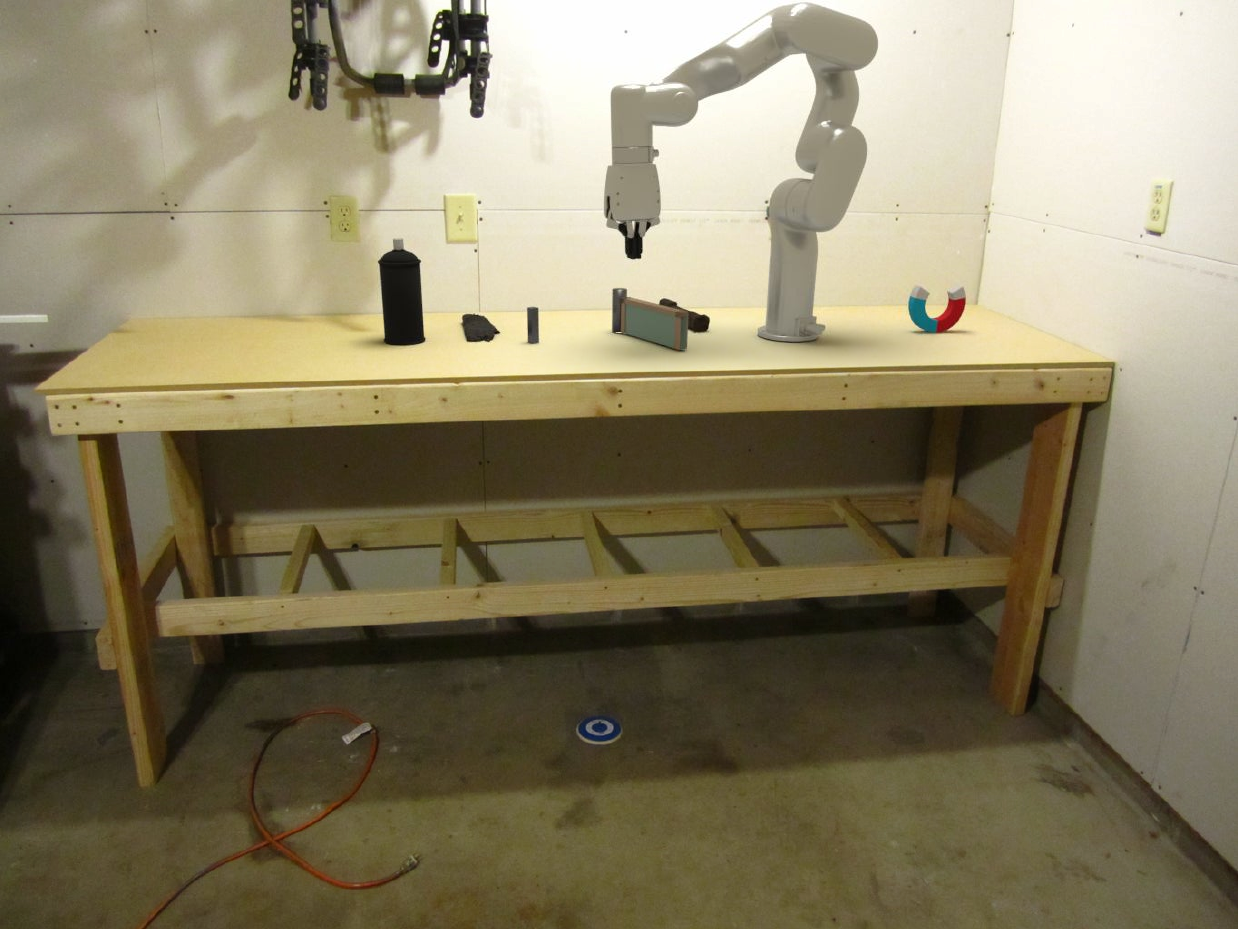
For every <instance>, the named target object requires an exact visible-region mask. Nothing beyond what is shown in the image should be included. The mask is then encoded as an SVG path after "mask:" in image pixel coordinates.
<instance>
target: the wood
mask: <svg viewBox="0 0 1238 929" xmlns="http://www.w3.org/2000/svg"><path fill="white" fill-rule="evenodd" d="M461 321H462V325H463V329H464V334H465V336H466V342H467V343H481V342H483V341H484V342H487V343H489V342H490V341H492V340H493V339H494V337H495V334H496V335H499V334H501V332H500V330H498V329H497V327H496V326H495V325H494V324H492V322H490V320H489V319H488V318H487V317H485V315H480V314H478V313H477V314H476V313H465V314H462V316H461Z"/></svg>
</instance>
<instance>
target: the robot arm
mask: <svg viewBox="0 0 1238 929" xmlns="http://www.w3.org/2000/svg"><path fill="white" fill-rule="evenodd" d="M878 39H879V38H878V35H877V32H876V30H875V28H874V27H873V26H872V25H871V24H870V23H869V22H867V21H866V20H863V19H861V18H858V17H856V16H853V15H849V14H846V13H843V12H840V11H837V10H834V9H831V8H828V7H825V6H822V5H819V4H816V3H812V2H807V1H804V2H802V1H801V2H796V3H792V4H786V5H780V6H778V7H775V8H773V9H771V10H769V11H768V12H766V13H765V14H763V15H762V16H760V17H758V18H757V19H755V20H754V21H751V23H749V24H748V25H746V26H745V27H743V28H742V29H740V30H739V31H737V32H736V33H734V34H732V35H731V36H729V37H728V38H726V39H725V40H723V41H721V42H720V43H718V44H716V45H714V46H712V47H710V48H708V49H707V50H705V51H703V52H701V53H699V55H697V56H695V57H693V58H691V59H689V60H687V61H685V62H683V63H681V64H680V65H678V66H676V67H675V68H673V69H671V70H670V71H668V72H667V73H665V74H663V75H662V76H660V77H659V78H657V79H656V80H654V81H653V82H651V83H650V84H648V85H646V84H637V83H636V84H619V85H616V86H614V87H613V88H612V89H611V91H610V125H611V126H610V131H611V133H610V134H611V135H610V136H611V165H610V164H609V165H607V168H606V174H605V182H604V194H603V215H604V217H605V219H606V224H605V225H606V227H607V228H609V229H614V230H617V231H618V232H619V233H621V235H622V237H624V253H625V255H626V258H627V259H630V260H633V261H634V260H641V259H642V254H643V252H644V251H643V249H644V248H643V246H644V245H643V244H644V240H643V238H645V236H646V233H647V232H648V231H649V229H650V228H651V227H655V226H657V225H659V224H660V223H661V219H660V216H661V208H662V207H661V206H662V204H661V201H662V199H661V186H660V180H659V173H658V169H657V165H656V163H655V164H654V161H655V158H658V157H659V156H660V151H659V148H658V149H655V148H654V144H653V143H654V142H653V139H654V138H653V137H654V133H653V132H654V131H653V127H654V126H655V127H669V128H671V127H673V128H678V127H682V126H685V125H687V124H689V123H690V122H691V121H692V120H693V119H694V118H695V117H696V115H697V113H698V109H699V101H702V100H704V99H706V98H709V97H711V96H715V95H718V94H722V93H725V92H729V91H733V90H735V89H738V88H739V87H743V86H744V85H746V84H748V83H749V82H750V81H752V80H754V79H755V78H757V77H758V76H759V75H761V74H762V73H764V72H765V71H767V70H769V69H770V68H772V67H773V66H775V65H776V64H778V63H779V62H781V61H783V60H784V59H786V58H788V57H790V56H792V55H801V54H803V55H804V54H805V58H806V60H807V63H808V66H809V67H810V70H811V72H812V73H813V77H814V80H815V81H814V82H815V96H814V100H813V102H812V105H811V109H810V111H809V113H808V115H807V119H806V121H805V124H804V126H803V129H802V131H801V135H800V138H799V140H798V143H797V146H796V148H795V153H794V154H795V156H794V157H795V162H796V164H797V166H798V167H799V168H800V170H802V171H803V172H805V173H809V174H811V175H813V176H812V178H811V179H810V178H804V177H803V178H799V177H793V178H792V177H791V178H789V179H786V180H784V181H782V182H780V183H779V184H777V186H775V188H774V190H773V191H772V193H771V196H770V198H769V202H768V203H769V206H768V211H769V212H768V214H769V222H770V258H769V270H768V283H767V298H766V310H765V312H766V314H765V325H763V326H760V327H758V328H757V335H758V336H759V337H761V338H764V339H766V340H771V341H779V342H789V343H790V342H793V343H794V342H795V343H796V342H797V343H798V342H799V343H800V342H810V341H814V340H816V339H818V338H819V336H821V335H822V334H823V332H825V330H826V325H825V324H822V323H817V318H818V317H817V316H815V315H813V314H814V303H815V291H816V281H817V279H816V278H817V268H818V258H819V241H818V236H817V235H818V234H817V233H827V232H829V231H832V230H833V229H834V228H836V227H837V226H838V225H839V224H840V223H841V221H842V220H843V219H844V217H845V215H846V213H847V210H848V208H849V206H850V204H851V202H852V198H853V197H854V194H855V192H856V189H857V188H858V187H857V186H858V185H859V184H858V183H859V181H860V179H861V177H862V174H863V171H864V169H865V166H866V162H867V158H868V144H867V139H866V137H865V135H864V134H863V132H862V131H861V130H860V129H859V128H857V127H856V126H853V122H854V119H855V116H856V113H857V110H858V106H859V102H860V88H859V83H858V78H857V75H856V72H855V71H859V70H862V69H864V68H866V67H867V66H868V65H870V64H871V63H872V61H873V60H874V59H875V57H876V55H877V53H878V47H879V40H878ZM633 222H634V223H633ZM633 224H634V225H633Z"/></svg>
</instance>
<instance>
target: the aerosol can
mask: <svg viewBox="0 0 1238 929" xmlns="http://www.w3.org/2000/svg"><path fill="white" fill-rule="evenodd" d="M392 247H393V249H392V250H390V251H388V252H386V253H384V254H383V255H382V256H381V257H380V259H379V260H378V261H377V263H378V265H379V277H380V290H381V291H380V292H381V304H382V318H383V320H382V322H383V332H384V333H383V334H384V338H383V342H384V343H385V344H387V345H391V346H392V345H394V346H411V345H417V344H422V343H424V342H425V341H426V337H425V330H424V329H425V328H424V325H425V324H424V312H423V297H422V296H423V295H422V294H423V293H422V279H421V278H422V277H421V263H422V260H421V259H419V258H418V256H417V255H416V254H415V253H413V252H412V251H408V250H407V249H405V248H404V238H401V237H400V238H399V237H397V238H396V237H395V238H392Z"/></svg>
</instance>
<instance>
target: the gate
mask: <svg viewBox="0 0 1238 929" xmlns="http://www.w3.org/2000/svg"><path fill="white" fill-rule="evenodd" d="M688 331H689V327H688V312H687V311H683V310H679V309H675V308H671V307H667V306H663V305H659V303H655V302H651V301H647V300H642V299H639V298H635V297H631V296H627V297H625V298H621V332H622V333H621V334H627V335H630V336H632V337H637V338H639V339H643V340H646V341H649V342H652V343H657V344H660V345H663V346H666V347H668V348H669V347H670V348H672V349H675V350H678V351H682V350H687V349H688V338H689V337H688V334H689V332H688Z"/></svg>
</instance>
